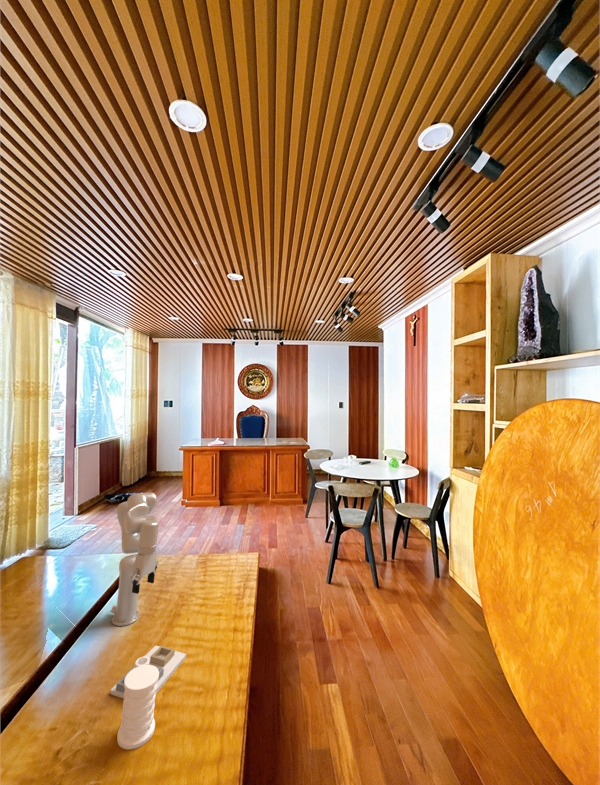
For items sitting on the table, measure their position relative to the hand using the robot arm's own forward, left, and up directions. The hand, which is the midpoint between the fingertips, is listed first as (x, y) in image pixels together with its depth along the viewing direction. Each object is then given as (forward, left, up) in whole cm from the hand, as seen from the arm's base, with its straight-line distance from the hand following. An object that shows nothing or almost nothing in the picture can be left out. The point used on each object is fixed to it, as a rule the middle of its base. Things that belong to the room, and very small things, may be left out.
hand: (143, 587), depth 150 cm
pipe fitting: (+14, -14, -27) cm, 34 cm away
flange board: (+14, -8, -28) cm, 33 cm away
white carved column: (+26, -30, -28) cm, 49 cm away
